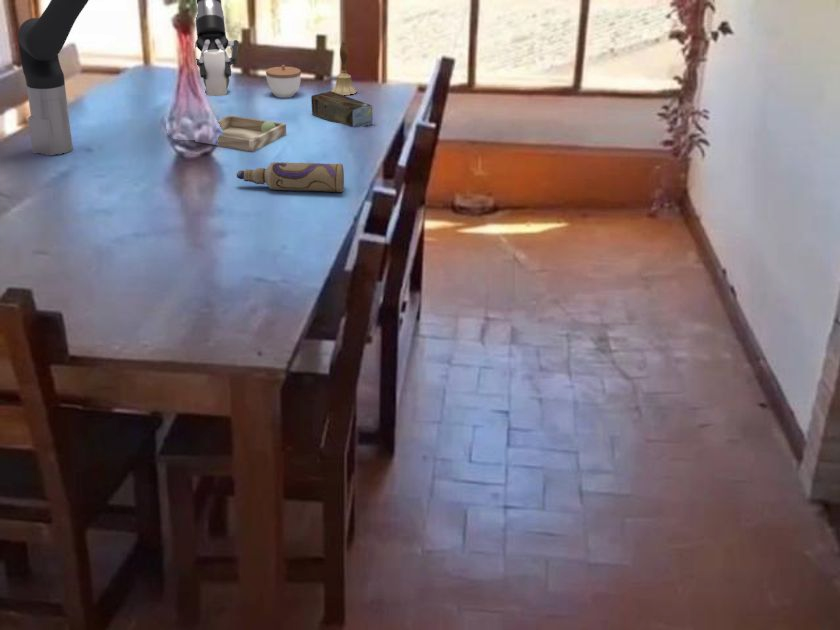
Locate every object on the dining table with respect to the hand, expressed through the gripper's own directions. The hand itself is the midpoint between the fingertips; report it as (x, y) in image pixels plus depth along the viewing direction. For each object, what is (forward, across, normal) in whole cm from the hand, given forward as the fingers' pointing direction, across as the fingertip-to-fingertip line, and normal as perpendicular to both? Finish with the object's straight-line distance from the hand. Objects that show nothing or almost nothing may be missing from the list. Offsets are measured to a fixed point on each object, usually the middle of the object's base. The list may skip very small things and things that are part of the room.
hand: (216, 77), depth 280 cm
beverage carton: (+2, -36, -25) cm, 44 cm away
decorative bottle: (+40, -15, +16) cm, 46 cm away
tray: (+12, -6, -13) cm, 19 cm away
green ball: (+11, -13, -13) cm, 22 cm away
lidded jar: (-19, -23, -46) cm, 55 cm away
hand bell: (-19, -42, -47) cm, 66 cm away
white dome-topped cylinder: (+2, 0, -5) cm, 5 cm away
